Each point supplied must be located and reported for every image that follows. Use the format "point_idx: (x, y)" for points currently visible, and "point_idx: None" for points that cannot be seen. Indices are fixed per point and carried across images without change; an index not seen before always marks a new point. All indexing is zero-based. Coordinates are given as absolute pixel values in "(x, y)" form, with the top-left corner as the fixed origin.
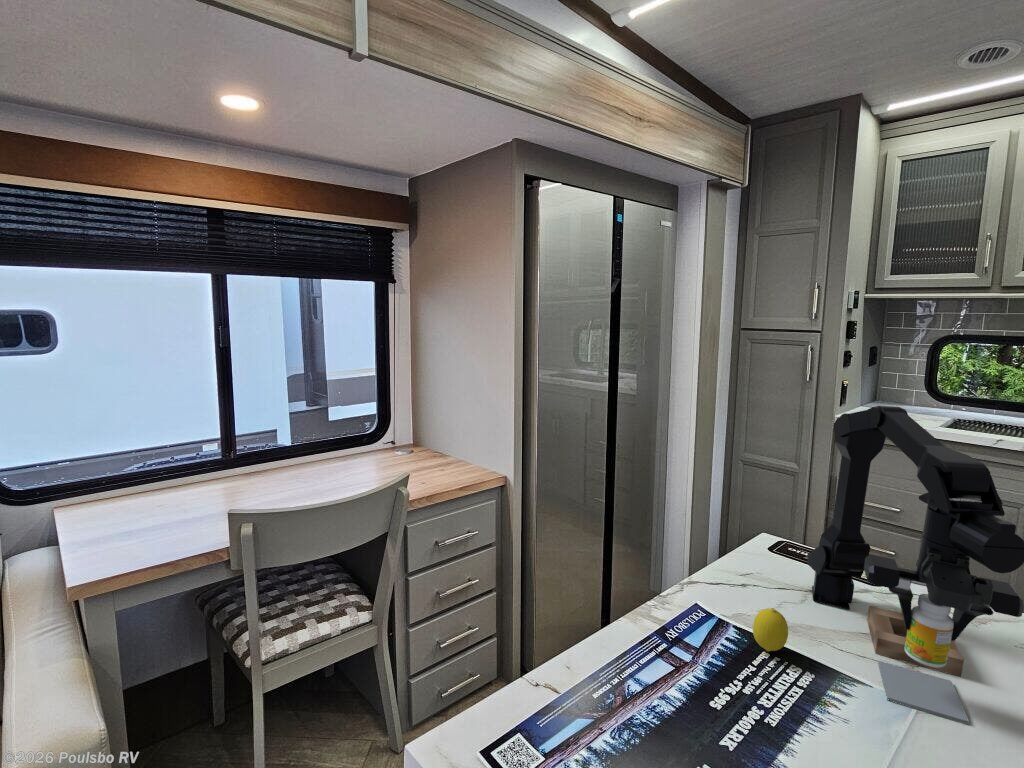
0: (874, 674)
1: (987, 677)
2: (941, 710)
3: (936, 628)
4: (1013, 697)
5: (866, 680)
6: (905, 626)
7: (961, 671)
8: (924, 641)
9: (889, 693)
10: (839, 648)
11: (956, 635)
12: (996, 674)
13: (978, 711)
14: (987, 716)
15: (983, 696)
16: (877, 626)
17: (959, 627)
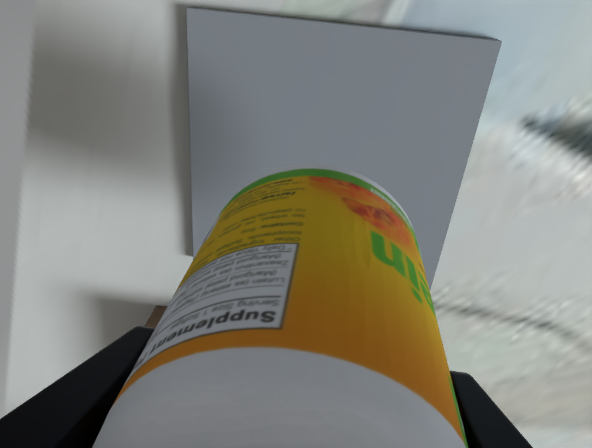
0: (471, 215)
1: (80, 328)
2: (280, 42)
3: (288, 355)
4: (21, 255)
5: (529, 160)
6: (480, 391)
7: (149, 319)
8: (371, 258)
9: (477, 80)
10: (546, 332)
11: (105, 360)
12: (55, 350)
13: (137, 125)
14: (112, 106)
15: (106, 225)
16: None
17: (40, 427)
